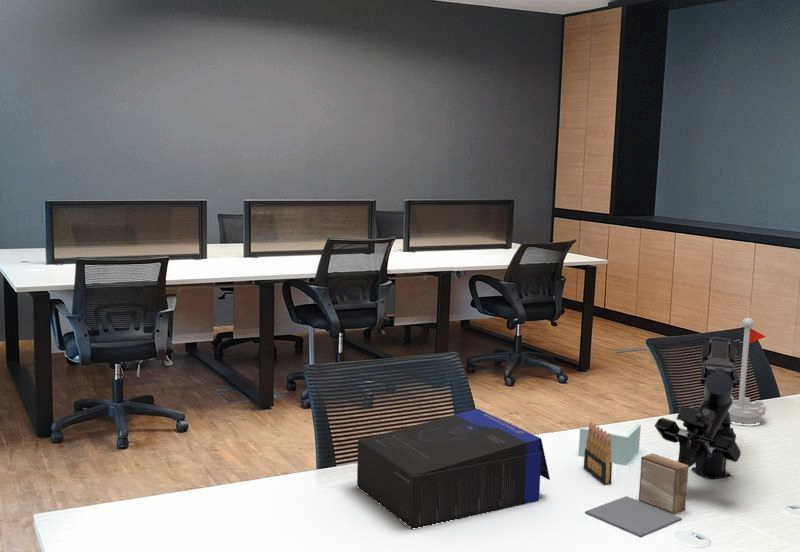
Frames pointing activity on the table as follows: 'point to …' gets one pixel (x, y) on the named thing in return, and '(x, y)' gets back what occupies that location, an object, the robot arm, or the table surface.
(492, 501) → the headphone box
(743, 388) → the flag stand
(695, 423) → the robot arm
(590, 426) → the ammunition clip
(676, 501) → the tan wooden block
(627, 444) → the l-shaped corner panel
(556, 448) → the table surface
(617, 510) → the mat
